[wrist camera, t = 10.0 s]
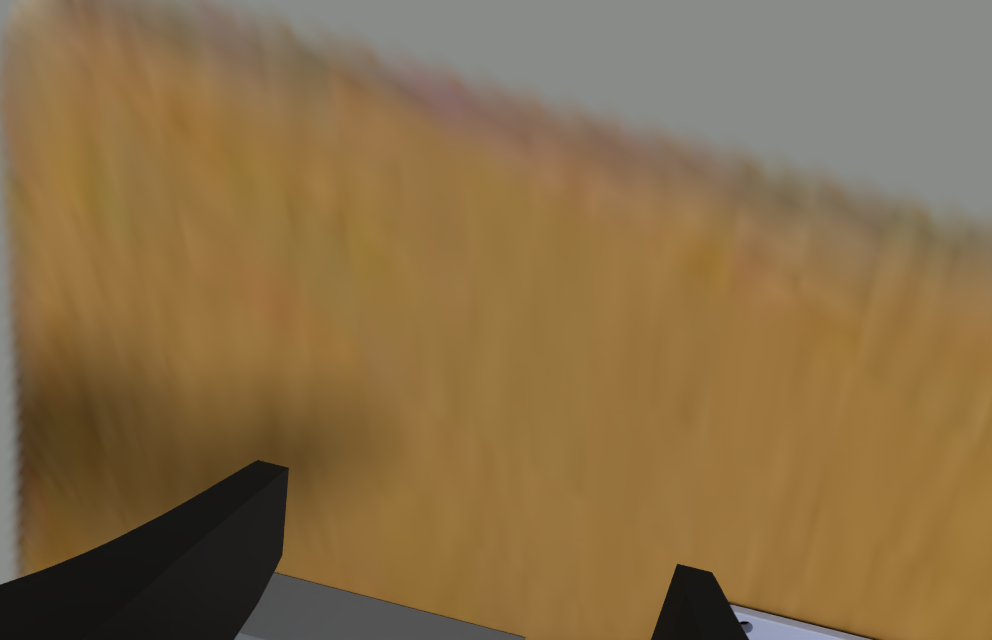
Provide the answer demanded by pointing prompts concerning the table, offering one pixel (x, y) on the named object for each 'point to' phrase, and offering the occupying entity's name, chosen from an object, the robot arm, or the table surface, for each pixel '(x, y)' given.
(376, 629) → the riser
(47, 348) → the table surface
